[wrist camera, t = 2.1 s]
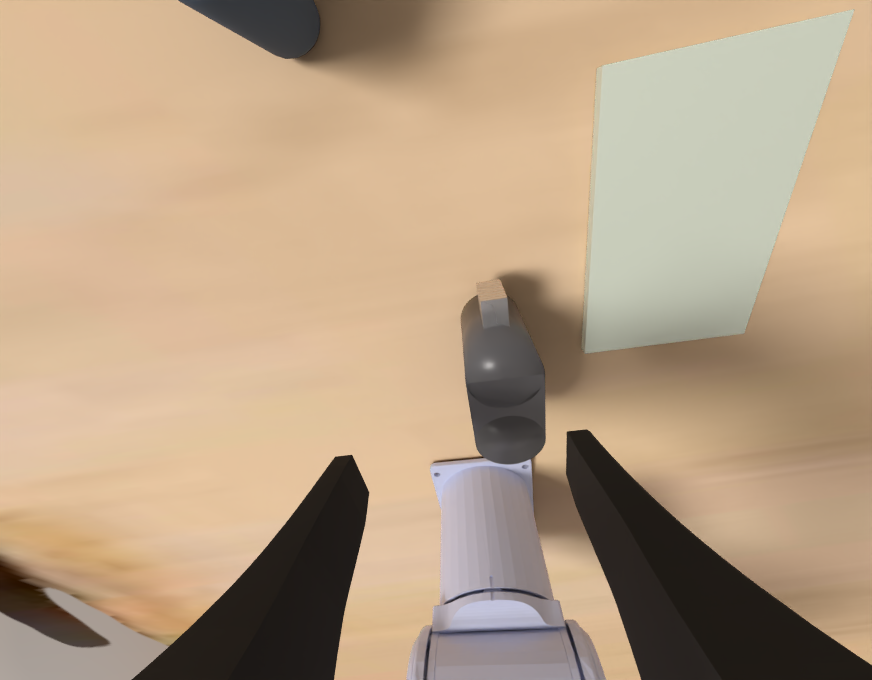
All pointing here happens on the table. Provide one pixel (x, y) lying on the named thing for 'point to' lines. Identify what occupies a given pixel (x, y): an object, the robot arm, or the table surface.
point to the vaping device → (267, 22)
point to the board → (697, 179)
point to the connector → (502, 378)
